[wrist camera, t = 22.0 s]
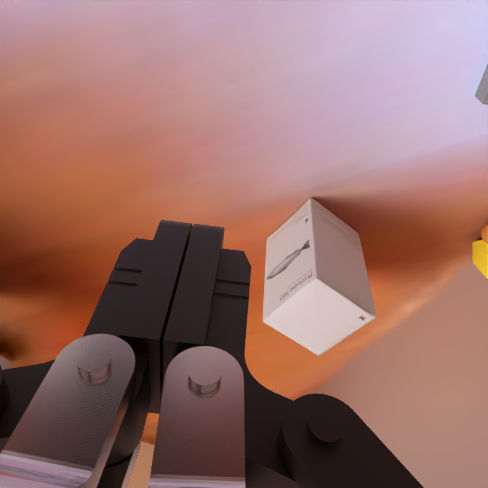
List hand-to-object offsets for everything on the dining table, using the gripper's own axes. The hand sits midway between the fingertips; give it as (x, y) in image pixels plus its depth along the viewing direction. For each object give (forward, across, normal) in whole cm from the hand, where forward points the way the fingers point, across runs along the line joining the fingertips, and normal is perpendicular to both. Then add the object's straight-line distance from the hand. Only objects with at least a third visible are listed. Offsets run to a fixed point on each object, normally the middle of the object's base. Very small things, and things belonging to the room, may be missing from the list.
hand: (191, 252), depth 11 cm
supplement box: (+32, -9, +22) cm, 40 cm away
